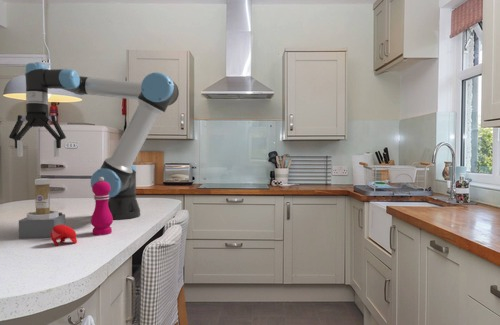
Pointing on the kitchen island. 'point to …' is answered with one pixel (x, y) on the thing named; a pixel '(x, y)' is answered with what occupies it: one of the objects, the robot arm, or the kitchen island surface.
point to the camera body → (40, 224)
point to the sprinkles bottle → (42, 196)
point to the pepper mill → (101, 208)
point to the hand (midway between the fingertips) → (38, 156)
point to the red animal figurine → (63, 234)
